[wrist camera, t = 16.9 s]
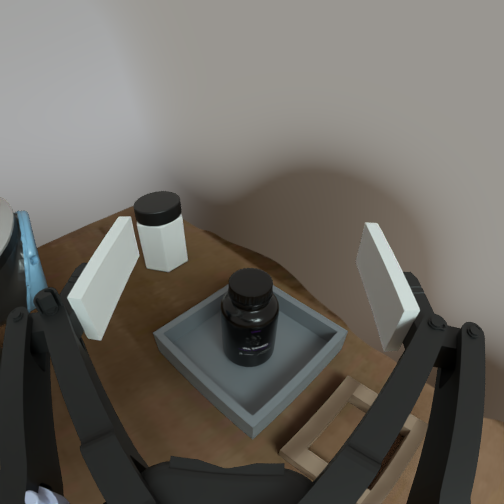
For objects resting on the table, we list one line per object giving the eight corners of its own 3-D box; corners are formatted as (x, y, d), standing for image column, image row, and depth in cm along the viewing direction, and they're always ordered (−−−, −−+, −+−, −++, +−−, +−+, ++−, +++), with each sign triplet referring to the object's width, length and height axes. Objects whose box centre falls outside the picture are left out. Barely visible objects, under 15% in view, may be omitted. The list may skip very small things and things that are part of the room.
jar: (195, 248, 60) (189, 192, 53) (179, 275, 54) (170, 215, 47) (154, 242, 62) (145, 189, 55) (136, 267, 56) (122, 210, 48)
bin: (159, 350, 41) (152, 332, 39) (249, 289, 51) (249, 270, 49) (252, 439, 31) (252, 427, 29) (341, 348, 41) (347, 331, 39)
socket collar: (278, 454, 29) (279, 449, 28) (344, 383, 37) (348, 375, 36) (367, 515, 22) (374, 513, 21) (423, 431, 30) (429, 425, 29)
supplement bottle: (252, 378, 37) (253, 314, 30) (212, 349, 40) (204, 283, 33) (284, 345, 41) (294, 278, 34) (246, 321, 45) (246, 254, 37)
